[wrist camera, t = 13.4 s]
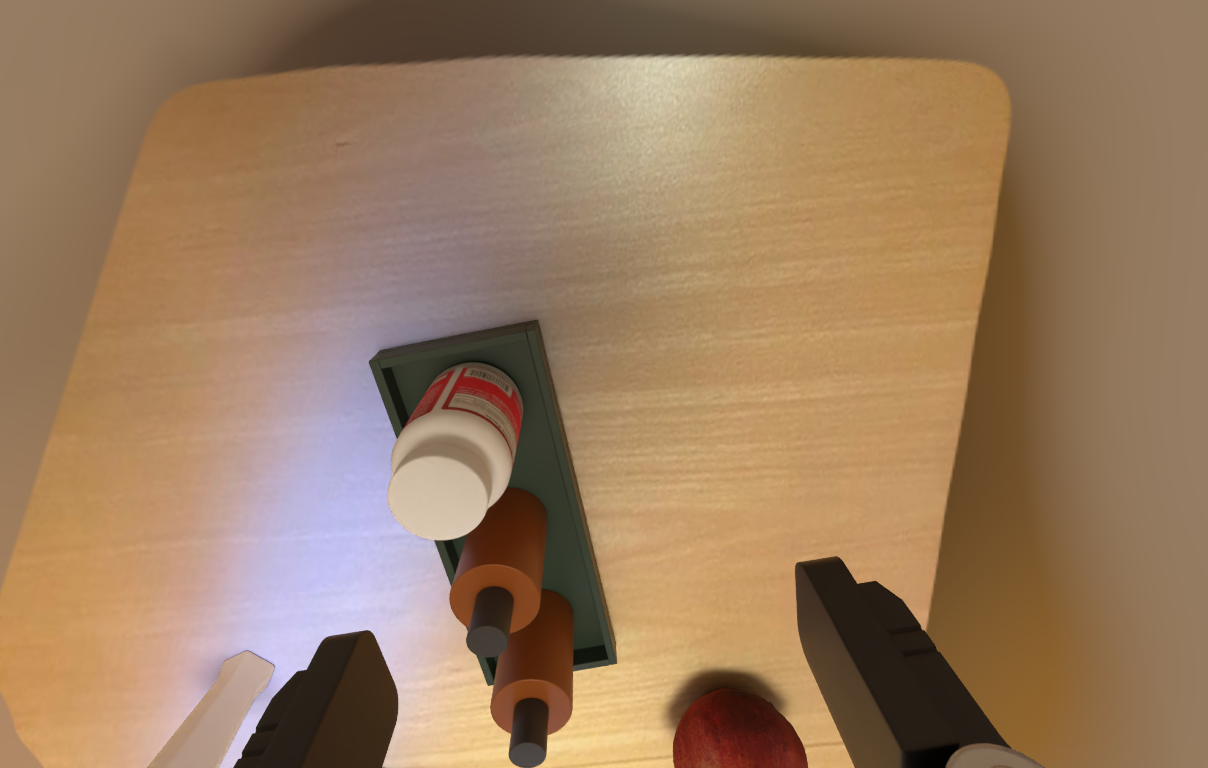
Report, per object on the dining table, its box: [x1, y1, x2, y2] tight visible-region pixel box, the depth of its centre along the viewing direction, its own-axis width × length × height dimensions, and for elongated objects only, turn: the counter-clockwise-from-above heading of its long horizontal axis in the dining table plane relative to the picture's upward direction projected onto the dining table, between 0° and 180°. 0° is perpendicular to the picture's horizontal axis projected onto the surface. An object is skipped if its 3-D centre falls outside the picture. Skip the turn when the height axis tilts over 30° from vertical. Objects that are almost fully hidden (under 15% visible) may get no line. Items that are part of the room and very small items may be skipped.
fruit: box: [673, 688, 808, 768], centre depth 44 cm, size 11×10×10 cm
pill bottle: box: [388, 362, 523, 540], centre depth 32 cm, size 6×6×11 cm
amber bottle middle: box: [450, 488, 548, 657], centre depth 35 cm, size 5×5×11 cm
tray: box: [369, 320, 617, 686], centre depth 40 cm, size 10×27×2 cm, turn 11°
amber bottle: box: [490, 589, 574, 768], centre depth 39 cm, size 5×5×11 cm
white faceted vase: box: [147, 651, 274, 768], centre depth 39 cm, size 5×4×15 cm
